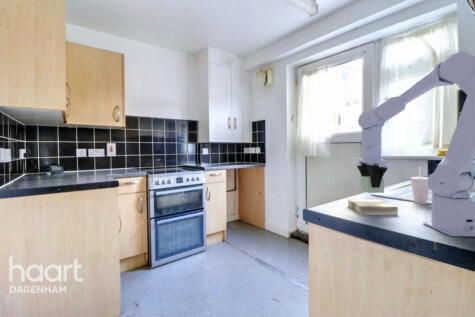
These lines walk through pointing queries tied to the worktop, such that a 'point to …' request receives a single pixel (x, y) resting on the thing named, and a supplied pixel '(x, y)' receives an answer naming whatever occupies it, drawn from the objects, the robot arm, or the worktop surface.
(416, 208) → the worktop surface
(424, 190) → the smoothie
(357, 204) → the birch block
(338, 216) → the worktop surface
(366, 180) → the sage cube
